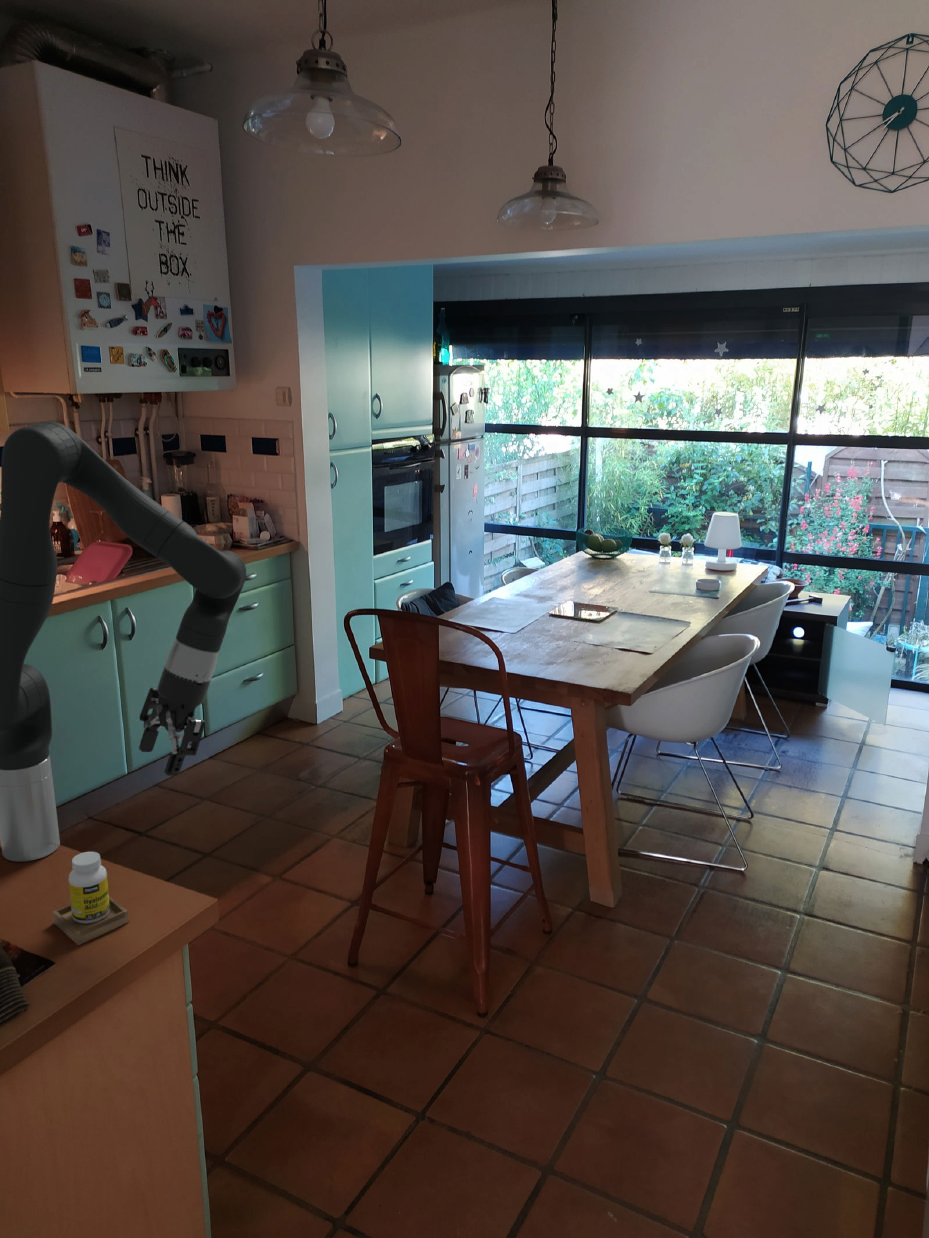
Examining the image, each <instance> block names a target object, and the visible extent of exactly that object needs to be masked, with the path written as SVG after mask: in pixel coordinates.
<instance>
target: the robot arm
mask: <svg viewBox="0 0 929 1238" xmlns="http://www.w3.org/2000/svg"><path fill="white" fill-rule="evenodd" d="M0 466H1V468H0V470H1V473H0V474H1V480H0V482H1V483H0V485H1V486H0V489H1V490H0V498H1V499H0V847H1V854H2V856H3V858H5V859H6V860H8V861H11V862H30V861H35V860H38V859H42V858H44V857H47V856H49V855H51V854H52V853H54V852H56V850H57V849H59V847H60V845H61V839H60V831H59V822H58V814H57V813H58V812H57V805H56V799H55V798H56V797H55V788H54V780H53V771H52V763H51V756H50V744H51V741H52V739H53V738H52V737H53V723H52V704H51V703H52V702H51V693H50V690H49V686H48V684H47V682H46V679H45V677H44V675H43V674H42V673H41V672H40V671H39V670H38V669H37V668H36V667H34V666H33V665H31V664H27V663H25V660H26V657H27V655H28V653H29V649H30V648H31V646H32V645H33V643H34V641H35V639H37V638H36V637H37V636H38V634H39V632H40V630H41V629H42V627H43V625H44V624H45V622H46V620H47V617H48V616H49V614H50V611H51V609H52V605H53V602H54V599H55V597H54V596H55V589H56V585H57V579H58V578H57V577H58V558H57V554H56V550H55V546H54V542H53V539H52V535H51V526H50V525H51V523H50V521H51V514H52V510H53V509H52V508H53V504H54V503H53V502H54V499H55V495H56V491H57V488H58V486H59V484H60V483H63V484H65V485H67V486H70V487H71V488H74V489H75V490H77V491H79V492H81V493H82V494H84V495H85V496H87V497H88V498H90V500H93V501H94V502H95V503H96V504H97V505H98V506H99V507H100V508H102V510H103V511H104V512H105V513H106V514H107V515H108V517H109V518H110V519H111V520H112V521H113V523H114V524H115V525H116V526H117V527H118V528H119V530H120V531H121V532H122V533H123V534H125V535H126V537H127V538H128V539H130V540H131V541H133V542H134V543H135V544H137V545H138V546H139V547H140V548H142V549H144V550H145V551H146V552H148V553H149V554H151V555H152V556H154V557H155V558H157V559H158V560H160V561H161V562H163V563H165V564H167V565H168V566H170V567H171V568H172V570H174V571H175V572H176V573H177V574H178V575H179V576H180V577H181V578H182V579H184V580H185V581H186V582H187V583H189V584H190V585H191V586H192V587H193V588H194V589H195V592H194V594H193V597H192V600H191V602H190V604H189V606H187V608H186V610H185V612H184V614H183V616H182V618H181V621H180V625H179V627H178V630H177V633H176V636H175V639H174V641H173V643H172V645H171V647H170V650H169V651H168V655H167V658H166V660H165V664H164V666H163V670H162V672H161V675H160V678H159V682H158V685H157V687H149V690H148V693H147V695H146V697H145V700H144V704H143V706H142V709H141V712H140V714H139V720H140V722H142V721H143V725H142V727H143V729H144V730H143V734H142V737H141V739H140V744H139V746H138V749H139V751H140V752H142V753H151V752H152V751H153V750H154V748H155V744H156V741H157V738H158V736H159V730H160V729H161V728H162V727H164V728H165V730H166V731H167V734H168V740H169V741H171V752H170V754H169V756H168V759H167V762H166V765H165V768H164V774H165V775H167V776H171V777H172V776H174V777H175V776H177V775H179V773H180V771H181V769H182V766H183V763H184V760H185V757H186V756H189V757H191V756H192V757H195V756H196V755H197V754H198V753H197V752H198V750H199V749H198V748H199V746H200V742H201V738H202V736H203V732H204V729H205V726H206V721H205V719H199V718H196V717H195V713H196V708H197V707H199V706H201V705H203V703H204V702H205V699H206V696H207V693H208V690H209V687H210V684H211V682H212V678H213V675H214V673H215V670H216V667H217V663H218V657H219V653H220V650H221V647H222V643H223V641H224V638H225V636H226V633H227V628H228V624H229V621H230V618H231V616H232V613H233V611H234V609H235V606H236V604H237V603H238V600H239V597H240V595H241V592H242V590H243V588H244V585H245V581H246V578H247V568H246V565H245V562H244V560H243V559H242V558H241V557H240V556H239V555H238V554H237V553H235V552H233V551H231V550H218V549H217V548H215V547H214V546H213V545H211V544H210V543H208V542H207V541H205V540H204V539H203V538H202V537H200V536H199V535H198V533H197V531H196V530H195V528H193V527H192V526H191V525H190V524H188V523H187V522H185V521H184V519H183V520H182V518H180V517H178V516H177V515H176V514H174V513H173V512H172V511H169V509H167V508H165V507H164V506H163V505H161V504H160V503H158V502H157V501H155V500H153V498H151V497H149V496H148V495H147V494H146V493H145V492H143V491H142V490H141V489H139V488H138V487H137V486H135V485H134V484H132V483H131V482H130V481H129V480H127V478H125V477H124V476H123V475H122V474H121V473H119V472H118V471H117V470H116V469H115V468H114V467H113V466H112V465H110V464H109V463H108V462H107V461H106V460H104V459H103V458H102V457H101V456H100V455H99V454H98V453H97V452H96V451H95V450H94V449H93V448H92V447H91V446H90V445H89V444H88V443H87V442H86V441H85V440H83V438H81V436H80V435H78V434H77V433H75V432H74V431H73V430H72V429H71V428H70V427H68V426H66V425H65V424H62V423H60V422H56V421H41V422H36V423H34V424H30V425H27V426H22V427H20V428H18V429H16V430H14V431H13V432H12V433H11V434H10V435H9V436H8V437H7V438H6V440H5V442H4V445H3V448H2V453H1V465H0ZM150 710H151V713H149V711H150ZM182 732H183V733H182ZM179 741H181V743H180V742H179ZM190 743H191V745H190ZM179 744H180V745H179ZM52 843H53V844H52ZM55 844H56V845H55ZM57 845H58V846H57Z"/></svg>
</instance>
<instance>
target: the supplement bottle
mask: <svg viewBox="0 0 929 1238" xmlns="http://www.w3.org/2000/svg"><path fill="white" fill-rule="evenodd" d="M71 868H72V870H71V871H70V873H69V875H68V887H69V888H68V889H69V898H70V899H69V900H70V904H71V910H72V917H73V919H74V920H75V921H76V922H78V923H82V924H90V923H94V922H97V921H100V920H102V919H103V918H105V917H106V916H107V915H108V913H109V911H110V906H109V896H110V895H109V884H108V872H107V869H106V868H105V866H103V865H102V860H101V855H100V853H98V852H96V851H85V852H80V853H79V854H76V855H75V856H73V857H72V860H71Z"/></svg>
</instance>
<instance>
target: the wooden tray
mask: <svg viewBox="0 0 929 1238" xmlns="http://www.w3.org/2000/svg"><path fill="white" fill-rule="evenodd" d="M109 906H110V911H109V913H108V915H107V916H106V917H105V918H103V919H102V920H100V921H97V922H94V923H90V924H82V923H78V922H76V921H75V920H74V919H73V917H72V910H71V903H69V904H67V905H65V906H63V907H60V908H58V909H55V910H53V911H52V919H53V924H54V925H56V926H57V928H58V929H60V930H61V931H62V932H63V933H64V934H65V935H66V936H67V937H69V939H70V940H72V941H73V942H74V943H75V945H77V946H81V945H82V944H84V943H87V942H88V941H91V940H93V939H96V938H98V937H100V936H102V935H104V934H107V933H108V932H111V931H113V930H115V929H117V928H119V927H121V926H123V924H124V925H126V924H128V923H129V922H130V920H129V911H128V909H126V908H125V907H123V906H122V905H121V904H120V903H119V902H118V901H116V899H114V898H113V897H112V896H110V895H109ZM127 922H128V923H127ZM125 923H126V924H125Z"/></svg>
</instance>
